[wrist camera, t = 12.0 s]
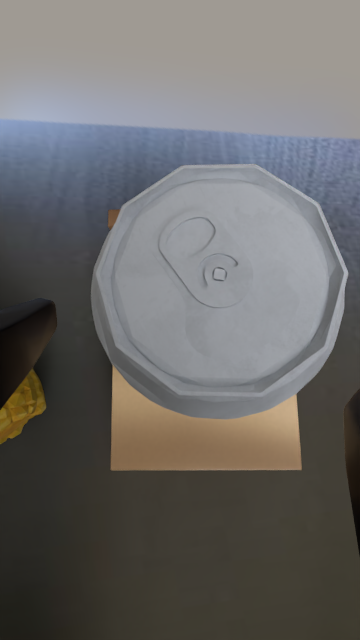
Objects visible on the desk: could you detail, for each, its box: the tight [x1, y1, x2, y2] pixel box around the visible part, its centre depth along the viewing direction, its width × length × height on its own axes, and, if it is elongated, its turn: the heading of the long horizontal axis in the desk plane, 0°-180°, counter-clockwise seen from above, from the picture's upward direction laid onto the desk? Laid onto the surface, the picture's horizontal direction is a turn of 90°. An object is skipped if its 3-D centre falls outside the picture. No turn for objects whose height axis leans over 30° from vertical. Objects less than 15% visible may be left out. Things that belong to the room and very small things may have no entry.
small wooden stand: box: [108, 209, 302, 470], centre depth 18 cm, size 14×10×6 cm
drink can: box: [91, 164, 348, 420], centre depth 11 cm, size 5×5×12 cm
